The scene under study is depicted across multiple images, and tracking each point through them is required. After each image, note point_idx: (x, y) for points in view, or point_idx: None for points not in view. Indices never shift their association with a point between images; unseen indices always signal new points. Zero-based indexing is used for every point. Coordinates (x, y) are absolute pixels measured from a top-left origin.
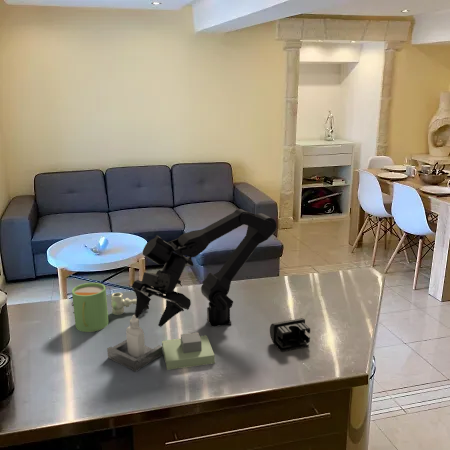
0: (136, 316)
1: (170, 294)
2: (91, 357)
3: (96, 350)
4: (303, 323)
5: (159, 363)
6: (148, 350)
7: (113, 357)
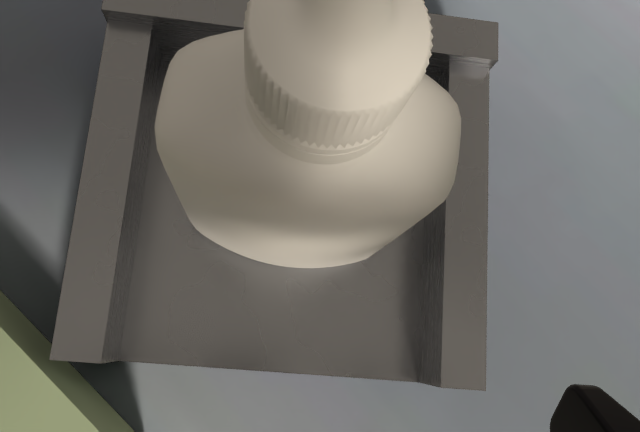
0: (569, 407)
1: None
2: (571, 20)
3: (622, 110)
4: None
5: (13, 218)
6: (232, 321)
7: None
